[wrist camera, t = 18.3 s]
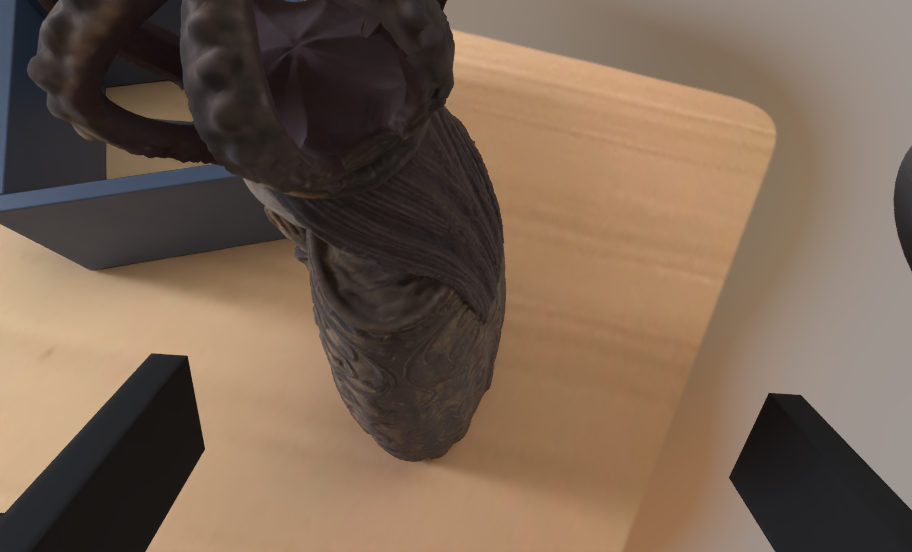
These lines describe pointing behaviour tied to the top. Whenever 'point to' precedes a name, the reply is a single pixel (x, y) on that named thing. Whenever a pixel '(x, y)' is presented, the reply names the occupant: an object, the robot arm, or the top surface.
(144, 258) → the bin
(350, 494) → the top surface
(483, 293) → the statue
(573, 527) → the top surface
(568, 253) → the top surface
